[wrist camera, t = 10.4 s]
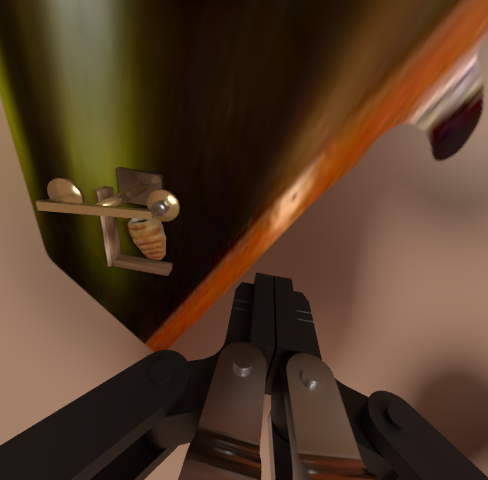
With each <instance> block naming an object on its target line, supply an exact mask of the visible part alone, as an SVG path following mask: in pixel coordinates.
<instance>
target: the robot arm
mask: <svg viewBox="0 0 488 480" xmlns="http://www.w3.org/2000/svg"><path fill="white" fill-rule="evenodd" d="M264 394H268V395H271V410H270V413H269V416H268V433H269V451H270V467H271V468H270V469H271V480H488V477H487V476H486V475H485V474H484V473H482V471H480V470H479V469H478V468H477V467H476V466H475V465H474V464H473V463H472V462H471V461H470V460H469V459H468V458H466V457H465V456H464V455H463V454H462V453H461V452H460V451H459V450H458V449H457V448H456V447H455V446H453V445H452V444H451V443H450V442H449V441H448V440H447V439H446V438H445V437H444V436H443V435H442V434H440V432H438V431H437V430H436V429H435V428H434V427H433V426H432V425H431V424H430V423H429V422H428V421H427V420H426V419H424V418H423V417H422V416H421V415H420V414H419V413H418V412H417V411H416V410H415V409H414V408H412V407H411V406H410V405H409V404H408V403H407V402H406V401H404V400H403V399H401V398H400V397H399V396H397V395H395V394H393V393H390V392H387V391H376V392H374V393H372V394H371V395H370V397H367V396H365V395H363V394H361V393H359V392H357V391H355V390H353V389H351V388H349V387H347V386H345V385H344V384H342V383H340V382H339V381H338V380H336V379H335V378H334V375H333V373H332V371H331V370H330V368H329V367H328V366H327V365H326V364H325V363H324V362H323V361H322V358H321V354H320V350H319V345H318V341H317V336H316V332H315V328H314V323H313V318H312V314H311V309H310V305H309V302H308V300H307V299H306V297H305V296H304V295H303V293H301V292H296V291H293V286H292V280H291V279H290V278H285V277H279V276H274V277H273V276H272V275H267V274H262V273H256V275H255V280H254V284H250V283H244V282H242V283H241V284H240V285H239V286H238V287H237V288H236V291H235V296H234V300H233V306H232V310H231V315H230V320H229V325H228V330H227V335H226V340H225V343H224V345H223V347H222V348H221V349H220V351H218V353H216V354H215V355H213V356H211V357H209V358H206V359H201V360H194V361H187V360H186V359H185V358H184V357H183V356H182V355H181V354H180V353H178V352H176V351H172V350H161V351H157V352H154V353H152V354H150V355H148V356H147V357H145V358H143V359H142V360H140V361H138V362H137V363H135V364H133V365H132V366H130V367H128V368H127V369H125V370H124V371H122V372H120V373H119V374H117V375H115V376H114V377H112V378H110V379H109V380H107V381H106V382H104V383H102V384H101V385H99V386H98V387H96V388H94V389H92V390H91V391H89V392H87V393H86V394H84V395H83V396H81V397H79V398H78V399H76V400H74V401H73V402H71V403H69V404H68V405H66V406H64V407H63V408H61V409H59V410H58V411H56V412H55V413H53V414H51V415H50V416H48V417H46V418H45V419H43V420H42V421H40V422H38V423H36V424H35V425H33V426H32V427H30V428H28V429H27V430H25V431H24V432H22V433H20V434H18V435H17V436H15V437H14V438H12V439H10V440H9V441H7V442H5V443H4V444H2V445H0V480H144V479H145V478H146V477H147V476H148V475H149V474H150V473H151V472H152V471H153V470H154V469H155V468H156V467H157V466H158V465H160V464H161V463H162V462H163V461H164V460H165V459H166V458H167V457H168V456H169V455H170V454H171V453H172V452H173V451H174V450H175V449H176V448H177V446H179V445H182V444H186V443H190V445H189V448H188V451H187V454H186V457H185V460H184V463H183V466H182V470H181V472H180V476H179V479H178V480H261V458H260V438H261V427H262V415H263V404H264Z"/></svg>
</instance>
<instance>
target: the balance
mask: <svg viewBox="0 0 488 480" xmlns="http://www.w3.org/2000/svg"><path fill="white" fill-rule="evenodd" d="M117 177H118V186H119V193H118V194H116V195H114V196H112V197H110V198H107V199H105V200H103V201H101V202H99V203H96V204H84V195H83V193H82V191H81V189H80V188H79V187H78V186H77V185H76V184H75V183H74V182H73V181H71V180H69V179H66V178H57V179H54V180H52V181H50V183H49V184H48V188H47V190H48V195H49V197H50V199H48V200H38V201H36V205H37V208H38V210H40V211H52V212H64V213H76V214H88V215H100V216H111V217H123V218H135V219H147V220H152V218H153V216H154V217H155V218H156V219H158V220H161V221H171V220H173V219H174V218H175V217H176V216H177V215H178V214H179V211H180V203H179V201H178V199H177V197H176V196H175V195H174V194H173V193H172V192H170V191H168V190H165V189H164V174H158V173H152V172H146V171H140V170H134V169H128V168H122V167H118V168H117ZM125 202H128V203H134V204H140V205H146V206H147V207H148V209H139V208H128V207H117V206H119V205H121V204H123V203H125Z"/></svg>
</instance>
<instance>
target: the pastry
mask: <svg viewBox="0 0 488 480" xmlns="http://www.w3.org/2000/svg"><path fill="white" fill-rule="evenodd" d="M128 228H129V232H130V235H131V237H132V239H133V242H134V243H135V244H136V246H137V247H138V248H139V249H140V250H141V252H142V253H143V254H144V255H145V256H146V257H147V258H149V259H153V260H161V259H162V258H163V257H164V255H165V254H166V252H165V251H166V236H165V233H164V230H163V225H162V223H161V220H158V219H156V218H155V217H154V216H153V218H152V220H147V219H135V218H132V219H131V220H130V221H129V222H128Z"/></svg>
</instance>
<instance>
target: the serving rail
mask: <svg viewBox="0 0 488 480" xmlns="http://www.w3.org/2000/svg"><path fill="white" fill-rule="evenodd" d="M96 193H97V199H98V203H99V202H101V201H103V200H105V199H107V198H110V197H112V196H114V193H113V188H112V187H106V186H104V187H102V188H99V189H96ZM100 219H101V225H102V232H103V238H104V245H105V251H106V258H107V264H108V266H109V267H110V266H115V267H121V268H127V269H132V270H138V271H143V272H149V273H155V274H160V275H166V276H168V275H169V273H170V272H171V270H172V263H168V262H162V261H157V260H151V259H145V258H140V257H134V256H128V255H123V254H121V252H120V243H119V235H118V226H117V218H116V217H111V216H100Z"/></svg>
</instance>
